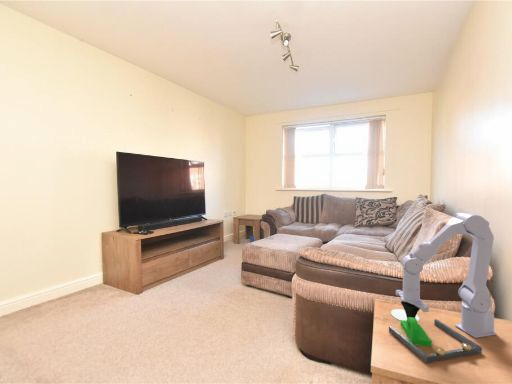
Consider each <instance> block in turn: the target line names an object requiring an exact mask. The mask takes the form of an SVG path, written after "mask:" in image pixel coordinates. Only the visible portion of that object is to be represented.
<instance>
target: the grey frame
mask: <svg viewBox="0 0 512 384" xmlns="http://www.w3.org/2000/svg"><path fill="white" fill-rule="evenodd" d="M433 321H434V323H433V324H434V326H436V327H437V328H439V329H441V330H442V331H444V332H445V333H447V334H448V335H450V336H452V337H453V338H455V339H456V340H457V341H459V342H460V343H461V348H457V349H451V350H445V349H444V348H442V347H438V346H437V347H435V349H434V350H435V351H434V353H427V354H426V353H425V352H424V351H423V350H422V349H420V348H419V347H417V345H414V344H413V343H411V342H410V340H409V338H408V337H407V338H408V339H407V338H406V336H405V335H403V334H401V333H400V332H399V331H398V330H397V329H395V327H393V326H392V325H389V326H388V332H389V333H390V334H391V335H392V336H394V337H395V338H396V339H397V340H398V341H399V342H400V343H402V344H403V345H404V347H406V348H408V349H409V351H411V352H412V353H413V354H415V355H416V356H417V357H418V358H419V359H420V360H422V361H423V362H424V363H425V364H430V363H436V362H441V361H446V360H453V359H457V358H463V357H469V356H475V355H480V354H482V352H483V347H482V346H481V345H479V344H477V343H475V341H472V340H471V339H469V338H467V337H466V336H464V335H462V334H461V333H460V332H458V331H456V330H455V329H453V328H452V327H450V326H448V325H447V324H445V323H443V322H442V321H440V320H439V319H437V318H435V319H433Z"/></svg>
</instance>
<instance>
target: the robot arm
mask: <svg viewBox="0 0 512 384" xmlns="http://www.w3.org/2000/svg"><path fill="white" fill-rule="evenodd" d="M455 235H469V236H470V237H471V238H472V244H471V245H472V246H471V251H470V258H469V264H468V265H469V266H468V271H467V276H466V279H465V280H463V281H462V285H461V286H460V287H459V288H458V290H457V291H458V293H457V294H458V296H459V298H460V299H461V312H460V313H461V317H460V320H461V323H456V324H454V326H455V327H457V328H458V329H460V330H462V331H463V332H465V334H466V333H467V334H468V335H470V336H471V337H473V338H475V339H477V338H482V337H483V338H484V337H489V336H490V337H491V336H495V335H497V334H498V333H497V332H496V331H495V315H494V311H492V309H491V308H492V305H493V304H492V301H491V292H490V290H489V288H488V286H487V281H488V277H489V275H488V274H489V268H490V265H491V264H490V263H491V258H492V250H493V244H494V239H495V237H494V234H493V232H492V230H491V227H490V222H489V221H488V220H486V219H485V218H484V217H483V216H481V215H478V214H472V213H469V212H467V211H460V212H457V213H455V214H454V216H452V217H451V218H449V220H448V221H447V223H446V224H445V225H444V226H443V227H442V228H441V229H440V230H439V231H438V232H437V233H436V234H435V235H434V236H433V237H432V238H431V239H430V240H429V241H423V242H422V243H421V242H419V243H418V244H417V247H416V248H415V249H414V250H412V252H409V253H408V254H407V255H405V256H403V257H402V258H401V260H400V264H401V266H402V290H401V289H395V295H396V296H397V297H398V296H399V297H400V300H401V302H400V304H401V305H402V307H403V310H404V312H405V315H406V319H407V318H408V317H412V318H416V317H417V314H418V312H419V311H420V310H421V312H422V313H428V312H429V310H430V309H429V306H428V305H427V304H426V303H425V302H423V300H421V293H420V292H421V285H420V284H421V276H420V275H421V272H422V271H423V270H424V265H425V264H427V263H428V262H429V261H430V260H431V259H433V257H434V256H436V255H437V253H438V248H439V247H442V246H443V244H445V243H446V242H447V241H448V240H450V239H451V238H453V237H454V236H455Z"/></svg>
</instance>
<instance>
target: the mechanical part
mask: <svg viewBox="0 0 512 384" xmlns="http://www.w3.org/2000/svg"><path fill="white" fill-rule="evenodd" d="M400 326H401V328H402V330H403V329H404V330H403V331H404V333H405V335H406V337H407V338H408V340H409V341H410V342H411V343H413V344H414V345H415V346H423V347H433V343H432V339H431V338H430V337H429V335H428V334H427V333H426V331H425V329H424V328H423V327H422V326H421V324H419V323H418V320H417V319H416V317H415V318H412V317H408V318H407V317H406V320H403V319H400Z"/></svg>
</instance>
